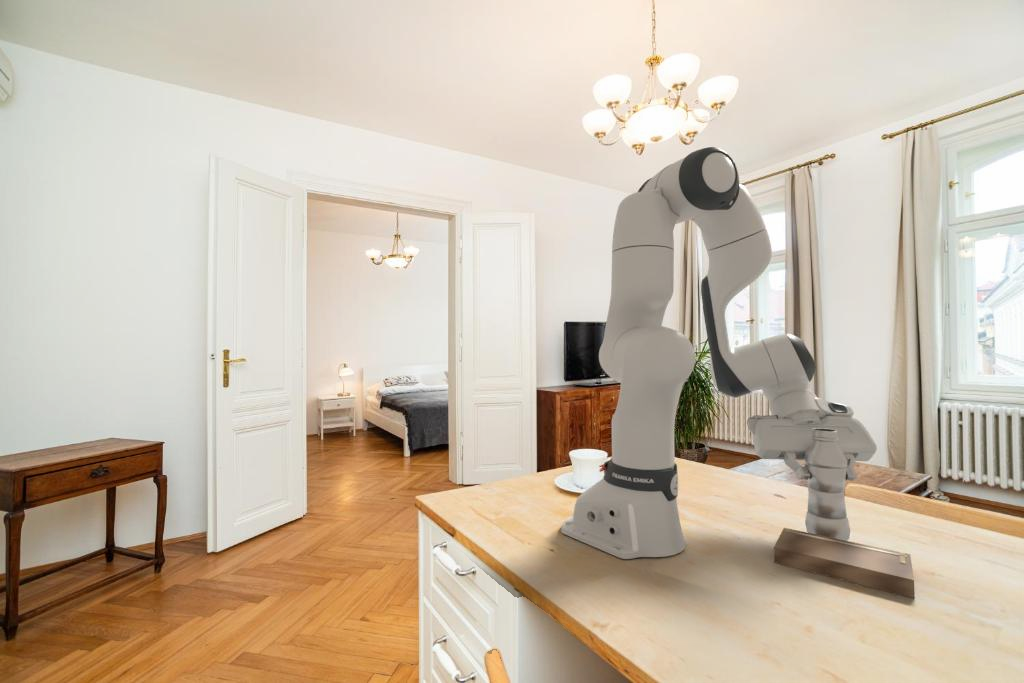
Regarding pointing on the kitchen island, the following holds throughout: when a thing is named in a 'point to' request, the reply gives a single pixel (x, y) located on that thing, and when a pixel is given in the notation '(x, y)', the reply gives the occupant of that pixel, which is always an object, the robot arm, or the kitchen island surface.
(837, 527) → the plastic bottle
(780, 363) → the robot arm
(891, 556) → the walnut board
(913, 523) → the kitchen island surface
